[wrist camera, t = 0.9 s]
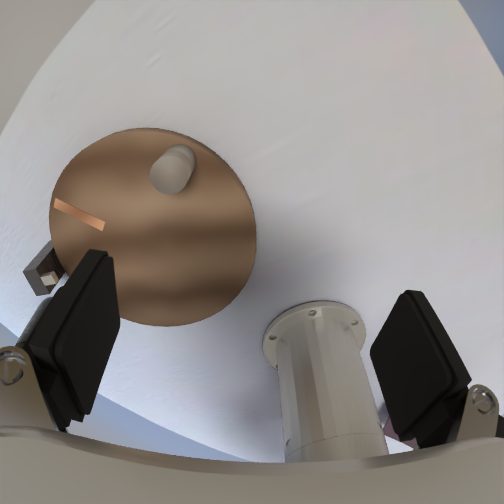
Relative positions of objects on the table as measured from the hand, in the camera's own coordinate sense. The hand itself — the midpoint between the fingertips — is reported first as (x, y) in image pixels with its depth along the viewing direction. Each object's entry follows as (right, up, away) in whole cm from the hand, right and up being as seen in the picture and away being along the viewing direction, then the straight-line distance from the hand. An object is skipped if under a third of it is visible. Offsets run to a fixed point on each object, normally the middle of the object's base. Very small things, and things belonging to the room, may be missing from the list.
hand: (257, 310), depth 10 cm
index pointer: (-21, +2, +21) cm, 30 cm away
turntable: (-10, +4, +20) cm, 23 cm away
